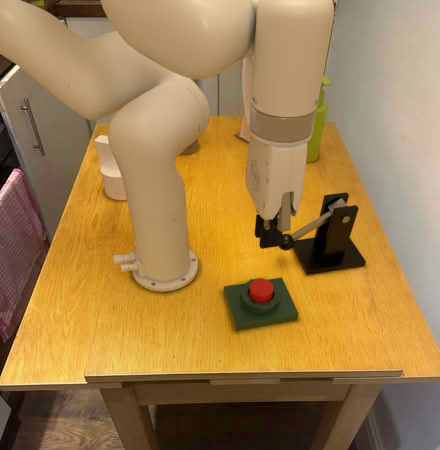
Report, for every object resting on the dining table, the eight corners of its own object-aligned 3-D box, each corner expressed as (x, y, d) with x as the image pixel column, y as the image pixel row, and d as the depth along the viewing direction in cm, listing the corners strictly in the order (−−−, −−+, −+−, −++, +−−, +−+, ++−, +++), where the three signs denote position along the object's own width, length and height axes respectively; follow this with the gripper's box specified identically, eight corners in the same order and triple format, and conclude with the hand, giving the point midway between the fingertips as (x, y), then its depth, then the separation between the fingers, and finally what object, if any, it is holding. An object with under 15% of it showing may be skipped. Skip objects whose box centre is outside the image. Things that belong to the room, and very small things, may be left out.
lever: (284, 256, 77) (277, 247, 74) (279, 245, 79) (272, 236, 77) (352, 216, 73) (347, 205, 71) (345, 206, 75) (339, 194, 73)
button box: (235, 331, 68) (236, 318, 66) (223, 292, 74) (223, 279, 72) (297, 320, 70) (300, 306, 68) (280, 283, 76) (283, 269, 73)
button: (252, 304, 68) (253, 297, 67) (246, 287, 71) (247, 280, 70) (275, 300, 69) (276, 293, 68) (268, 284, 72) (269, 277, 70)
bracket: (306, 275, 78) (319, 221, 68) (290, 245, 83) (300, 191, 74) (364, 266, 79) (384, 212, 70) (345, 237, 85) (361, 183, 76)
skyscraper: (274, 139, 114) (287, 22, 93) (253, 148, 110) (262, 29, 90) (253, 128, 118) (261, 14, 97) (232, 137, 115) (236, 21, 94)
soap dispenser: (302, 165, 104) (316, 83, 90) (291, 152, 109) (303, 72, 94) (323, 162, 106) (340, 80, 91) (312, 149, 110) (326, 69, 95)
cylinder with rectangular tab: (97, 195, 95) (85, 147, 86) (116, 176, 100) (107, 128, 92) (132, 203, 93) (124, 154, 84) (149, 182, 99) (143, 135, 90)
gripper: (234, 95, 52) (230, 213, 66) (271, 156, 42) (258, 281, 55) (290, 90, 53) (274, 207, 67) (339, 149, 43) (309, 273, 57)
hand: (267, 240), depth 61 cm, fingers closed
